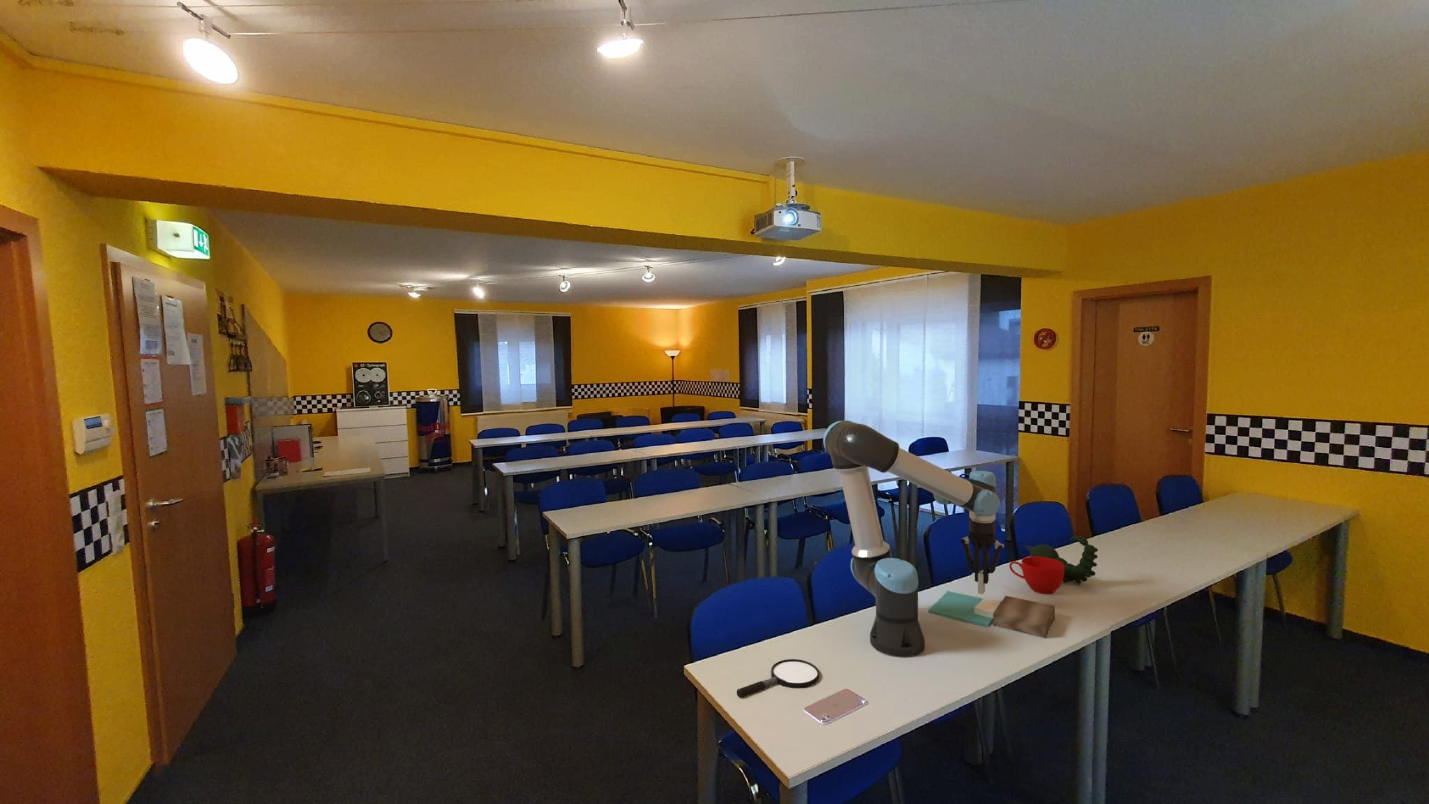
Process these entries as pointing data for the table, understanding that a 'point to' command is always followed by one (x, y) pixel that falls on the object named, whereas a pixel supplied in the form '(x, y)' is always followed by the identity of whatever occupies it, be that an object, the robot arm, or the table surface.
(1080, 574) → the toy figurine
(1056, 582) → the ceramic cup
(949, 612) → the mat
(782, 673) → the magnifying glass
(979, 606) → the tile
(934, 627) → the table surface
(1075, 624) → the table surface
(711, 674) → the table surface
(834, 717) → the mobile phone
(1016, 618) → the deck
